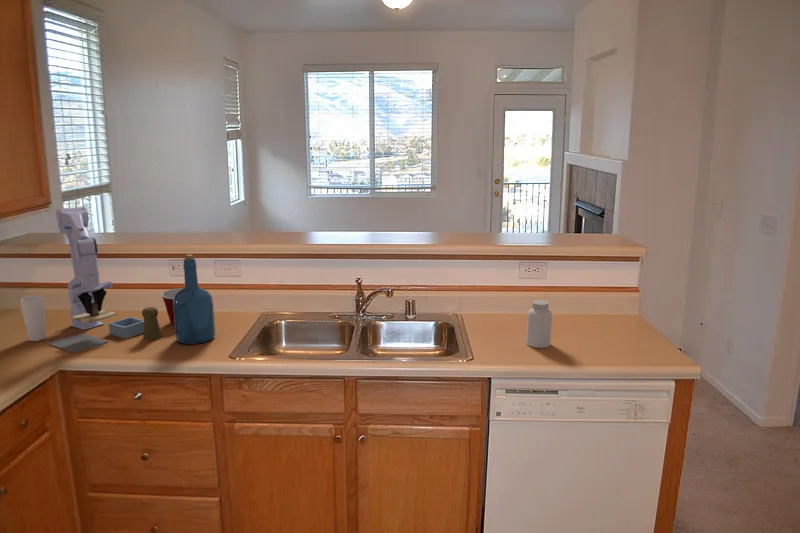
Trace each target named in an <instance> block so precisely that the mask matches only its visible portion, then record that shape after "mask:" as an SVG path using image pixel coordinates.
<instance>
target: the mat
mask: <svg viewBox="0 0 800 533" xmlns="http://www.w3.org/2000/svg"><path fill="white" fill-rule="evenodd" d="M108 343H109V341H108V340H106V339H102V338H97V337H95V336H92V335H89V334H84V333H83V332H82V333H77V334H73V335H70V336H68V337H64V338H60V339H57V340H53V341H51V342H47V343H46V344H47V345H48V344H49V345H48V346H51V345H52V346H51V347H54V346H55V347H54V348H57V347H59V348H58V349H60V348H62V349H61V350H63V349H64V350H63V351H66V350H68V351H67V352H69V351H70V352H69V353H72V352H73V354H77V353H80V352H82V350H83V351H86V350H89V349H92V348H91V347H93V348H95V346H96V347H98V346H101V345H105V344H108ZM85 349H86V350H85ZM79 351H80V352H79ZM76 352H77V353H76Z"/></svg>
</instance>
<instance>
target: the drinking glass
mask: <svg viewBox="0 0 800 533" xmlns="http://www.w3.org/2000/svg"><path fill="white" fill-rule="evenodd" d="M20 308H21V313H22V316H23V318H22V319H23V320H24V321H23V322H24V324H25V329H26V333H27V337H28V338H27V339H28V341H30V342H41V341H44V340H46V338H47V333H46V313H45V311H46V310H45V302H44V297H43V295H30V296H29V295H28V296H24V297H21V299H20ZM43 339H44V340H43ZM40 340H41V341H40Z"/></svg>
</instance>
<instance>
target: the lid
mask: <svg viewBox="0 0 800 533" xmlns="http://www.w3.org/2000/svg"><path fill="white" fill-rule="evenodd" d="M91 305H92V314H87V313H83V314H80V315H76V316H73V317H72V319H75V320H79V321H83V322H88V323H93V322H96V321H99V322H101V321H102V320H106V319H110V318H112V317H115V316H117V315H118V313H117V312H114V311H110V310H105V309H101V311H100V312H99V310H98V303H91ZM72 319H71V320H72Z"/></svg>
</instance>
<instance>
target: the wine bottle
mask: <svg viewBox="0 0 800 533" xmlns="http://www.w3.org/2000/svg"><path fill="white" fill-rule="evenodd" d="M182 266H183V268H182V269H183V276H184V287H183V288H181V289H182V290H180V291H179V292H178V293H177V294H176V295H175V296H174V298H173V312H174V323H175V325H174V331H175V332H174V333H175V339H176V341H177V343H180V344H184V345H197V344H198V343H199V344H203V343H206V342H210V341H211V340H213V339H214V338H215V336H216V324H215V313H214V312H215V310H214V299H213V297H212V295H211V293H210V292H209V291H208V290H207V289H205V288H202V287H200V286H199V281H198V279H199V278H198V271H197V269H198V266H197V262H196V258H194V254H191V253H190V254H186V255H184V258H183V265H182Z"/></svg>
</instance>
